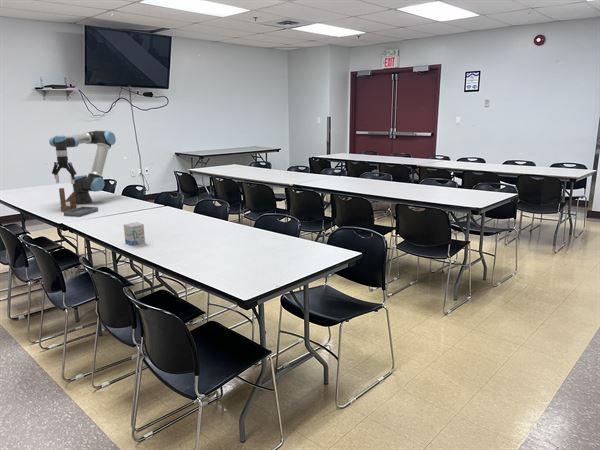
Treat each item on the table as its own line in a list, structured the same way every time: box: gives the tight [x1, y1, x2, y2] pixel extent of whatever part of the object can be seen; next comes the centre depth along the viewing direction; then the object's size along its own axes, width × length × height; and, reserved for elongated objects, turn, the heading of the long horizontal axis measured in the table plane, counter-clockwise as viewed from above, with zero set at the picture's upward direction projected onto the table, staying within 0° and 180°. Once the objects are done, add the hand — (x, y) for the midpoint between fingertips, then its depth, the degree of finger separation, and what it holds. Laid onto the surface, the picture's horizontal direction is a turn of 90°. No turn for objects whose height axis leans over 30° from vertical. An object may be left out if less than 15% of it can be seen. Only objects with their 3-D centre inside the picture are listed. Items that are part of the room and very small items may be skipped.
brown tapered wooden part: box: [58, 187, 77, 213], centre depth 360 cm, size 4×11×18 cm, turn 131°
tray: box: [63, 206, 99, 218], centre depth 352 cm, size 21×14×3 cm, turn 167°
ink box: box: [123, 221, 146, 246], centre depth 272 cm, size 8×8×12 cm
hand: (65, 183), depth 357 cm, fingers open, 13 cm apart
